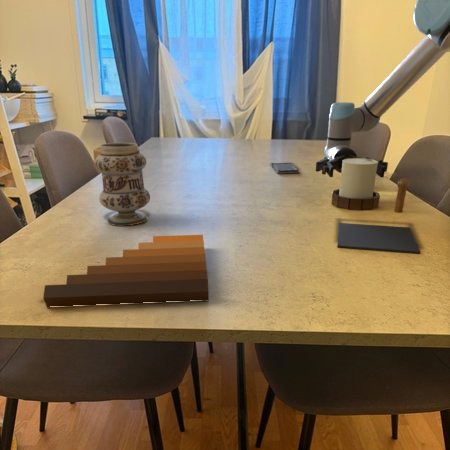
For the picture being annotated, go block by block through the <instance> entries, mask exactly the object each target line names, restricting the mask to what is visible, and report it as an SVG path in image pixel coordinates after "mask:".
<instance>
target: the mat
mask: <svg viewBox="0 0 450 450" xmlns="http://www.w3.org/2000/svg"><path fill="white" fill-rule="evenodd" d="M337 231H338V232H337V245H336V246H337V248H338V249H350V250H361V251H363V250H364V251H376V252H387V253H388V252H390V253H401V254H402V253H403V254H416V255H419V254H421V250H420V248H419V245H418V243H417V241H416V238H415V236H414V234H413V231H412V229H411V227H409V226H396V225H395V226H394V225H380V224H365V223H364V224H363V223H362V224H361V223H349V222H338V228H337Z"/></svg>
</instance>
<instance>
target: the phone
mask: <svg viewBox="0 0 450 450" xmlns="http://www.w3.org/2000/svg"><path fill="white" fill-rule="evenodd" d="M271 168H272V169H273V170H274V171H275V173H276V174H280V175H281V174H299V168H297V167H296V166H295V165H294V164H293V163H291V162H273V163H271Z"/></svg>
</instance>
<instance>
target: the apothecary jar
mask: <svg viewBox="0 0 450 450" xmlns="http://www.w3.org/2000/svg"><path fill="white" fill-rule="evenodd" d="M94 165H95V168H96V169H97V170H98V171H100V172H101V178H102V179H101V180H102V191H101V192H100V194H99V198H98V200H99V203H100V205H101V206H102V207H104V208H105V209H108V210H110V211H113V212H117V213H114V214H113V215H111V216H110V217H108V219H107V223H108V222H109V223H110V224H109V223H108V224H109V225H111V224H114V225H113V226H115V225H131V226H134V225H133V224H137V225H140V224H139V223H141V224H143V223H142V222H144V223H145V222H147V221H148V215H146V214H145V213H141V212H138V211H137V210H140V209H142V208H144V207H145V206H147V205H148V204H149V203H150V200H151V194H150V191H148V189H147V188H145V183H144V175H143V170H144V168H145V167H146V165H147V158H146V156H145V155H144V154H143V153H141V152H140V148H139V145H138V144H137V143H136V142H109V143H102V144H100V151H99V154H98V155H97V156H96V157H95V160H94ZM146 220H147V221H146Z"/></svg>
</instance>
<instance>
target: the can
mask: <svg viewBox="0 0 450 450" xmlns="http://www.w3.org/2000/svg"><path fill="white" fill-rule="evenodd" d="M372 159H373V158H371V159H365V158H364V157H359V158H350V159H344V160H343V161H342V162H343V163H342V173H340V174H341V175H340V184H339V189H340V191H339V196H343V197H348V198H361V199H363V198H372V197H373V191H375V190H374V189H375V183H376V177H377V174H376V171H377V165H378V161H376V160H377V159H374V160H372Z"/></svg>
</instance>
